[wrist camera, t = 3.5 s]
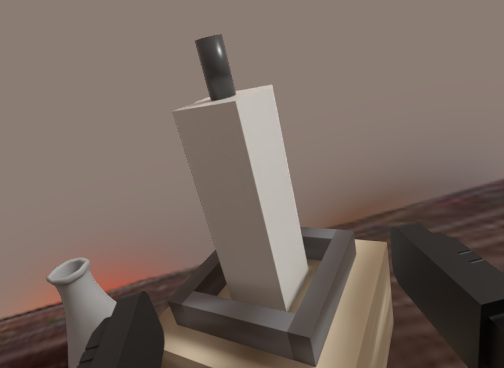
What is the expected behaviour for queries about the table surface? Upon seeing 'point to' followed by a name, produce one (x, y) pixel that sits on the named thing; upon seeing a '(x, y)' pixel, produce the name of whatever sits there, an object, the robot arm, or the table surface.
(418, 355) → the table surface
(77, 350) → the flask
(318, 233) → the upper dock
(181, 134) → the plug
